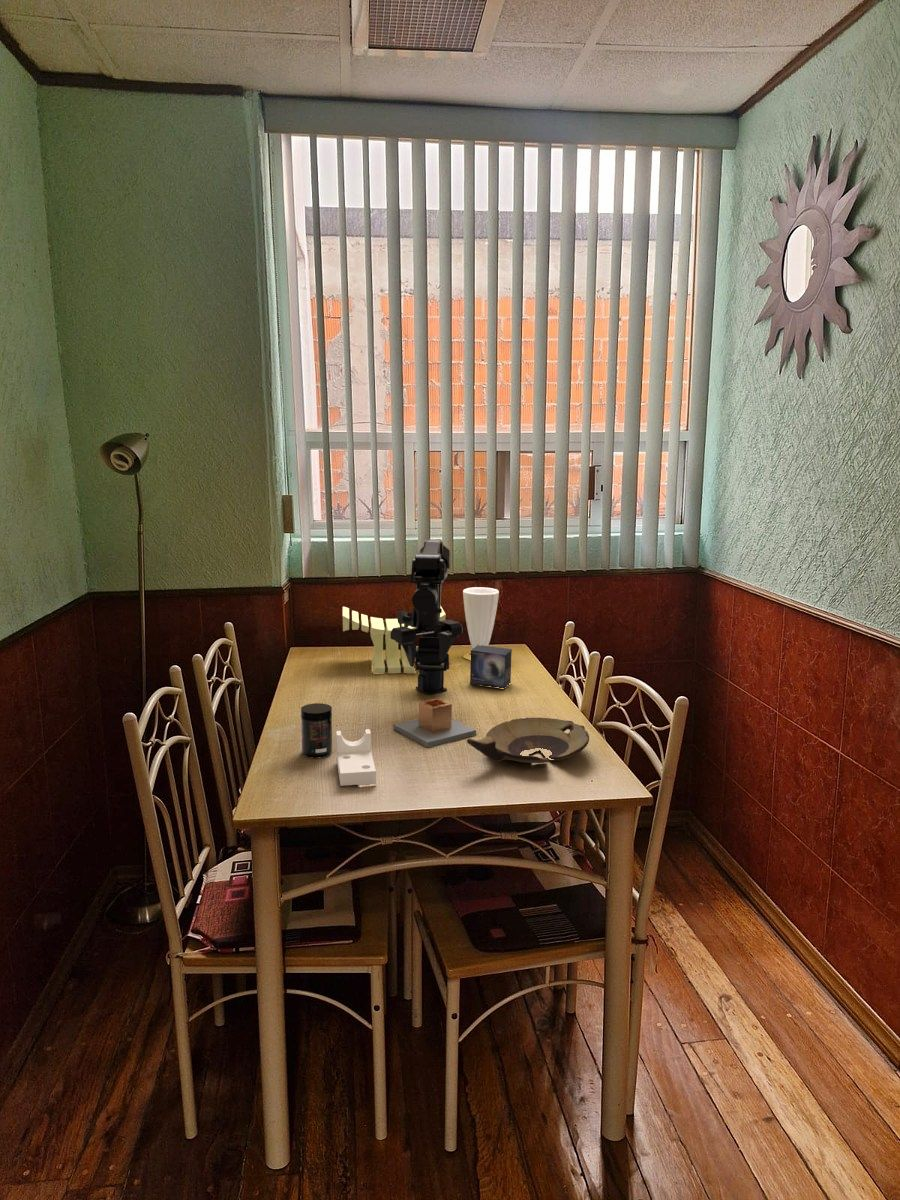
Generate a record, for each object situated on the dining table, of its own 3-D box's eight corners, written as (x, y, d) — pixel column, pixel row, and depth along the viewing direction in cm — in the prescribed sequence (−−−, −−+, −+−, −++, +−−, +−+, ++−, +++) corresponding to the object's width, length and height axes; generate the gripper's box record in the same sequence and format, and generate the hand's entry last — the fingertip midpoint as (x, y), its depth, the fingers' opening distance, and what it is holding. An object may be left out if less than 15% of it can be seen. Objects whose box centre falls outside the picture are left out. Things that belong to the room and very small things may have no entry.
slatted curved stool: (438, 658, 257) (439, 603, 253) (444, 672, 241) (445, 614, 238) (343, 660, 253) (342, 604, 249) (343, 674, 237) (342, 615, 234)
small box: (468, 685, 229) (469, 649, 227) (476, 679, 235) (477, 644, 233) (504, 690, 225) (505, 653, 223) (511, 683, 231) (512, 648, 229)
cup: (498, 661, 254) (500, 594, 249) (461, 661, 254) (462, 593, 249) (496, 652, 265) (498, 587, 261) (461, 651, 265) (462, 586, 261)
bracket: (336, 764, 173) (336, 731, 172) (369, 762, 175) (369, 729, 173) (340, 790, 161) (340, 754, 159) (376, 787, 162) (375, 752, 161)
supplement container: (325, 745, 183) (324, 701, 181) (337, 755, 178) (337, 710, 176) (297, 751, 180) (295, 706, 178) (308, 761, 174) (307, 715, 172)
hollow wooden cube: (437, 721, 196) (437, 697, 195) (451, 728, 192) (451, 704, 190) (418, 726, 193) (418, 702, 192) (432, 733, 188) (432, 708, 187)
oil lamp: (608, 770, 172) (610, 736, 170) (472, 782, 165) (473, 747, 163) (568, 733, 193) (570, 702, 192) (446, 742, 186) (447, 711, 185)
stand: (441, 718, 202) (441, 698, 201) (476, 734, 191) (476, 713, 190) (393, 729, 194) (394, 708, 193) (427, 747, 183) (427, 725, 182)
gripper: (438, 594, 215) (438, 651, 218) (378, 602, 204) (378, 662, 207) (464, 602, 207) (463, 661, 210) (403, 610, 196) (402, 672, 199)
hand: (426, 663), depth 207 cm, fingers open, 9 cm apart
